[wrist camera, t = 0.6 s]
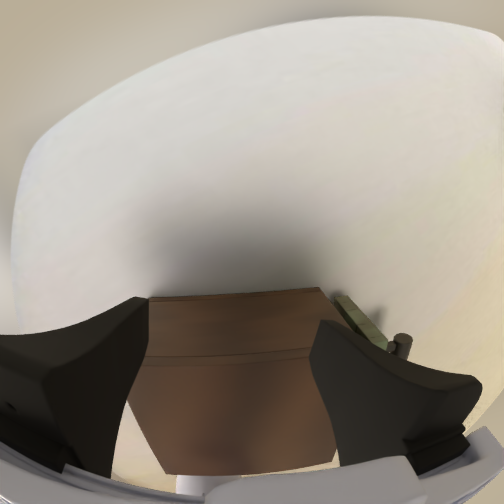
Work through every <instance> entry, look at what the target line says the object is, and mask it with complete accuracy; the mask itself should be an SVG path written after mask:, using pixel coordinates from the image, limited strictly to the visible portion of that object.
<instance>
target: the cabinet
mask: <svg viewBox="0 0 504 504" xmlns="http://www.w3.org/2000/svg"><path fill="white" fill-rule="evenodd" d="M148 299H149V342H148V346H147V350H146V353H145V357H144V360H143V362H142V365H141V367H140V369H139V372H138V374H137V376H136V379H135V381H134V383H133V386H132V388H131V390H130V393H129V395H128V398H127V401H128V404H129V406H130V408H131V410H132V412H133V414H134V416H135V419H136V421H137V423H138V425H139V427H140V429H141V431H142V433H143V434H144V436H145V438H146V440H147V442H148V444H149V446H150V448H151V449H152V451H153V453H154V455H155V456H156V458H157V460H158V461H159V463H160V465H161V466H162V468H163V470H164V471H165V473H166V474H171V475H188V476H233V475H249V474H261V473H270V472H278V471H285V470H292V469H298V468H304V467H309V466H314V465H319V464H323V463H328V462H332V460H333V457H334V454H335V452H336V449H337V445H336V440H335V436H334V432H333V428H332V424H331V421H330V418H329V415H328V412H327V410H326V407H325V405H324V403H323V400H322V398H321V395H320V393H319V390H318V388H317V385H316V383H315V380H314V378H313V375H312V371H311V367H310V362H309V354H310V351H311V348H312V345H313V342H314V339H315V336H316V333H317V330H318V327H319V323H320V320H321V319H323V320H334V321H337V322H339V323H340V324H342V325H344V326H346V327H347V328H349V329H350V330H352V329H351V328H350V327H349V325H348V324H347V323H346V321H345V320H344V319H343V317H342V316H341V315H340V314H339V312H338V311H337V310H336V308H335V307H334V306H333V305H332V303H331V302H330V301H329V299H328V298H327V297H326V296H325V294H324V293H323V292H322V291H321V289H320V288H319V287H315V288H304V289H293V290H281V291H268V292H255V293H240V294H223V295H205V296H184V297H156V298H148Z"/></svg>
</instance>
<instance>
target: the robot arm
mask: <svg viewBox="0 0 504 504" xmlns="http://www.w3.org/2000/svg"><path fill="white" fill-rule="evenodd" d="M148 342H149V299H146V298H140V297H133V298H130V299H128V300H127V301H125V302H123V303H121V304H119V305H117V306H115V307H113V308H111V309H109V310H107V311H106V312H103V313H101V314H99V315H97V316H95V317H92V318H90V319H88V320H86V321H83V322H80V323H78V324H75V325H71V326H68V327H65V328H61V329H56V330H52V331H47V332H42V333H35V334H24V335H0V504H463V503H464V502H466V501H467V500H469V499H470V498H471V497H473V496H474V495H475V494H476V493H478V492H479V491H480V490H481V489H482V488H483V487H485V486H486V485H487V484H488V483H489V482H490V481H491V480H493V479H494V478H495V477H496V476H497V475H498V474H499V473H500V472H501V471H502V470H503V469H504V448H503V447H502V446H501V445H500V443H499V442H498V441H497V439H496V438H495V437H494V436H493V434H491V432H490V431H489V430H488V429H487V427H486V426H483V427H481V428H479V429H477V430H476V431H474V432H472V433H470V434H469V435H468V436H467V437H466V438H465V437H464V435H463V434H462V433H463V432H464V431H465V427H464V425H463V424H462V423H463V421H464V420H465V419H466V418H467V416H468V415H469V413H470V412H471V411H472V409H473V408H474V406H475V405H476V403H477V402H478V400H479V398H480V396H481V393H482V384H481V383H480V382H479V381H478V380H477V379H476V378H475V377H474V376H472V375H464V374H456V373H449V372H444V371H439V370H435V369H431V368H427V367H424V366H421V365H418V364H415V363H412V362H409V361H407V360H405V359H402V358H400V357H398V356H395V355H393V354H391V353H389V352H387V351H385V350H384V349H382V348H380V347H378V346H376V345H375V344H373V343H371V342H370V341H368V340H366V339H365V338H363V337H362V336H360V335H358V334H357V333H355V332H354V331H352V330H350V329H349V328H347V327H346V326H344V325H342V324H340V323H339V322H337V321H334V320H323V319H321V320H320V323H319V327H318V330H317V333H316V336H315V339H314V342H313V345H312V348H311V351H310V354H309V362H310V367H311V371H312V375H313V378H314V380H315V383H316V385H317V388H318V390H319V393H320V395H321V398H322V400H323V403H324V405H325V407H326V410H327V412H328V415H329V418H330V421H331V424H332V428H333V432H334V436H335V440H336V445H337V450H338V455H339V461H340V467H338V468H332V469H325V470H318V471H310V472H300V473H288V474H271V475H263V476H255V477H244V478H242V477H241V475H233V476H188V475H177V482H176V493H170V492H164V491H158V490H153V489H148V488H143V487H139V486H135V485H130V484H126V483H123V482H119V481H115V480H112V479H111V471H112V463H113V457H114V451H115V445H116V440H117V435H118V430H119V426H120V422H121V418H122V414H123V410H124V406H125V403H126V400H127V398H128V395H129V393H130V390H131V388H132V386H133V383H134V381H135V379H136V376H137V374H138V372H139V369H140V367H141V365H142V362H143V360H144V357H145V353H146V350H147V346H148Z"/></svg>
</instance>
